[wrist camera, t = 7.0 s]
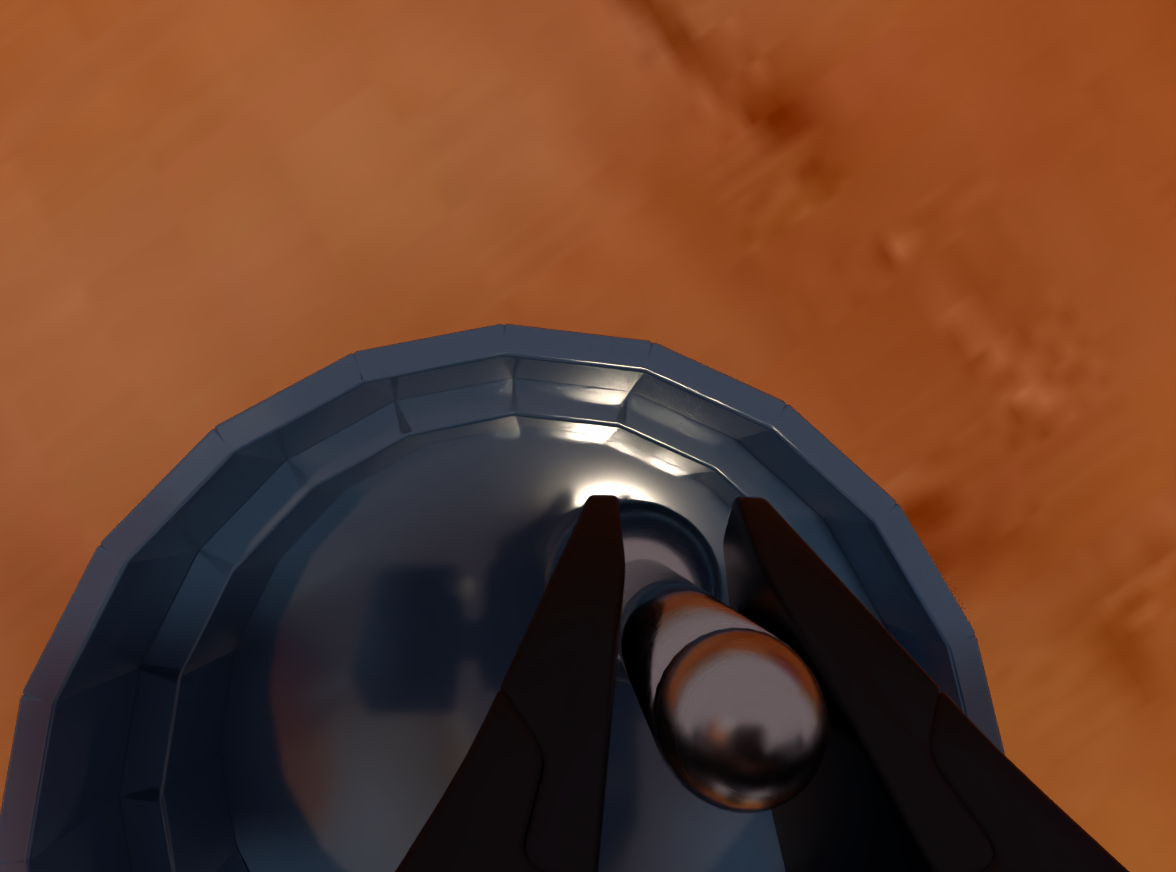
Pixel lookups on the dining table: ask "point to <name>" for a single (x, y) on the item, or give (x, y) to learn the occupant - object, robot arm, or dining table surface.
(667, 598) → the silver metal pestle
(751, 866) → the dark blue round bowl
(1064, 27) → the dining table surface
